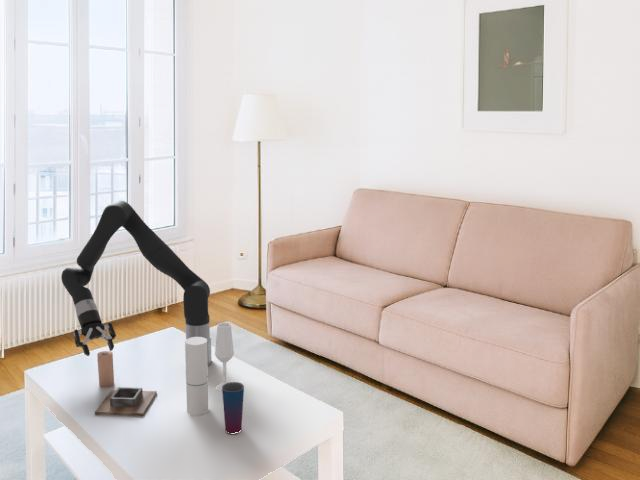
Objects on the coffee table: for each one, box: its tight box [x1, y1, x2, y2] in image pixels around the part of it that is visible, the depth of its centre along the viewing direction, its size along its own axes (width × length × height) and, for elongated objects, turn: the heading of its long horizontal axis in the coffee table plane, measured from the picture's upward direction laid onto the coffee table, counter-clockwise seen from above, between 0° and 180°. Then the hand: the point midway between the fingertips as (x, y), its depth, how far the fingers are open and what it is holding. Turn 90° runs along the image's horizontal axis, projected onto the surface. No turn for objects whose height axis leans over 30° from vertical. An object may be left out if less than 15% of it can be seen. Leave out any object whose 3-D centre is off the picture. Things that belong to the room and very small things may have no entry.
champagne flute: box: [214, 322, 235, 391], centre depth 227 cm, size 7×7×24 cm
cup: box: [221, 381, 245, 433], centre depth 199 cm, size 7×7×15 cm
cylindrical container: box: [184, 337, 210, 417], centre depth 209 cm, size 7×7×25 cm
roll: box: [96, 350, 115, 389], centre depth 228 cm, size 5×5×12 cm
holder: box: [94, 386, 158, 417], centre depth 215 cm, size 16×16×4 cm
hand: (100, 352), depth 231 cm, fingers open, 8 cm apart
